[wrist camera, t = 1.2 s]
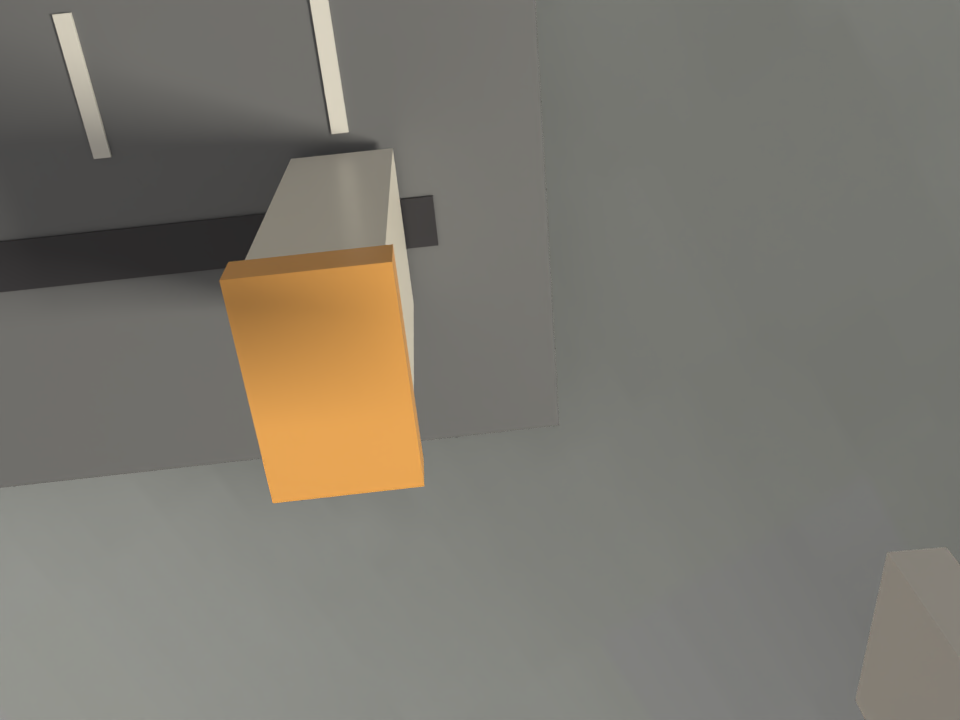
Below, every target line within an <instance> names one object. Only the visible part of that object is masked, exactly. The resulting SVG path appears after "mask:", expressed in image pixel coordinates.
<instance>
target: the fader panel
mask: <svg viewBox="0 0 960 720" xmlns="http://www.w3.org/2000/svg"><path fill="white" fill-rule="evenodd" d="M389 148H393V154H394V161H395V168H396V176H397V183H398V191H399V198H400V206H401V213H402V221H403V228H404V235H405V243H406V250H407V258H408V265H409V273H410V280H411V288H412V295H413V302H414V397H415V404H416V411H417V418H418V425H419V432H420V439H421V441H424V440H433V439H442V438H451V437H460V436H469V435H478V434H487V433H496V432H505V431H514V430H523V429H532V428H541V427H550V426H559V411H558V394H557V376H556V358H555V340H554V322H553V305H552V287H551V269H550V251H549V233H548V216H547V198H546V180H545V162H544V144H543V127H542V109H541V91H540V73H539V55H538V38H537V20H536V2H535V0H0V488H1V487H10V486H19V485H28V484H37V483H46V482H55V481H64V480H73V479H82V478H91V477H100V476H109V475H118V474H127V473H136V472H145V471H154V470H163V469H172V468H181V467H190V466H199V465H208V464H217V463H226V462H235V461H244V460H253V459H262V456H261V452H260V448H259V443H258V439H257V435H256V431H255V427H254V423H253V418H252V414H251V410H250V406H249V402H248V398H247V394H246V389H245V385H244V381H243V377H242V373H241V369H240V364H239V360H238V356H237V352H236V348H235V344H234V340H233V335H232V331H231V327H230V323H229V319H228V315H227V310H226V306H225V302H224V298H223V294H222V290H221V285H220V281H219V280H220V278H221V276H222V274H223V272H224V270H225V268H226V266H227V264H228V262H232V261H242V260H245V258H246V256H247V254H248V252H249V250H250V247H251V245H252V243H253V241H254V239H255V236H256V234H257V232H258V230H259V228H260V225H261V223H262V221H263V219H264V217H265V215H266V212H267V210H268V208H269V206H270V204H271V201H272V199H273V197H274V195H275V193H276V190H277V188H278V186H279V184H280V182H281V179H282V177H283V175H284V173H285V171H286V168H287V166H288V164H289V162H290V160H291V159H294V158H303V157H313V156H322V155H332V154H341V153H351V152H360V151H370V150H379V149H389Z"/></svg>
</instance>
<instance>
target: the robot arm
mask: <svg viewBox="0 0 960 720" xmlns="http://www.w3.org/2000/svg"><path fill="white" fill-rule="evenodd" d="M855 701H856V703H857V705H858V707H859V708H860V710H861V712H862V714H863V716H864V718H865V720H960V564H959V563H958V562H957V560H956V559H955V558H954V557H953V555H952V554H951V553H950V551H949V550H948V549H947V547H941V548H929V549H918V550H907V551H896V552H887V556H886V560H885V565H884V570H883V574H882V579H881V584H880V588H879V593H878V597H877V602H876V607H875V611H874V616H873V620H872V625H871V630H870V634H869V639H868V644H867V648H866V653H865V657H864V662H863V667H862V671H861V676H860V680H859V685H858V690H857V694H856V699H855Z"/></svg>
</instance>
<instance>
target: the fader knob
mask: <svg viewBox="0 0 960 720" xmlns="http://www.w3.org/2000/svg"><path fill="white" fill-rule="evenodd" d="M219 281H220V285H221V290H222V294H223V298H224V302H225V306H226V310H227V315H228V319H229V323H230V327H231V331H232V335H233V340H234V344H235V348H236V352H237V356H238V360H239V364H240V369H241V373H242V377H243V381H244V385H245V389H246V394H247V398H248V402H249V406H250V410H251V414H252V418H253V423H254V427H255V431H256V435H257V439H258V443H259V448H260V452H261V456H262V460H263V464H264V468H265V472H266V477H267V481H268V485H269V489H270V493H271V497H272V502H273V503H279V502H288V501H297V500H306V499H315V498H323V497H332V496H341V495H350V494H359V493H368V492H377V491H386V490H395V489H404V488H413V487H421V486H424V460H423V453H422V446H421V439H420V432H419V425H418V418H417V411H416V404H415V397H414V302H413V295H412V288H411V280H410V273H409V265H408V258H407V250H406V243H405V235H404V228H403V221H402V213H401V206H400V198H399V191H398V183H397V176H396V168H395V161H394V154H393V148H389V149H379V150H370V151H360V152H351V153H341V154H332V155H322V156H313V157H303V158H294V159H291V160H290V162H289V164H288V166H287V168H286V171H285V173H284V175H283V177H282V179H281V182H280V184H279V186H278V188H277V190H276V193H275V195H274V197H273V199H272V201H271V204H270V206H269V208H268V210H267V212H266V215H265V217H264V219H263V221H262V223H261V225H260V228H259V230H258V232H257V234H256V236H255V239H254V241H253V243H252V245H251V247H250V250H249V252H248V254H247V256H246V258H245V260H242V261H232V262H228V264H227V266H226V268H225V270H224V272H223V274H222V276H221V278H220V280H219Z"/></svg>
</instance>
